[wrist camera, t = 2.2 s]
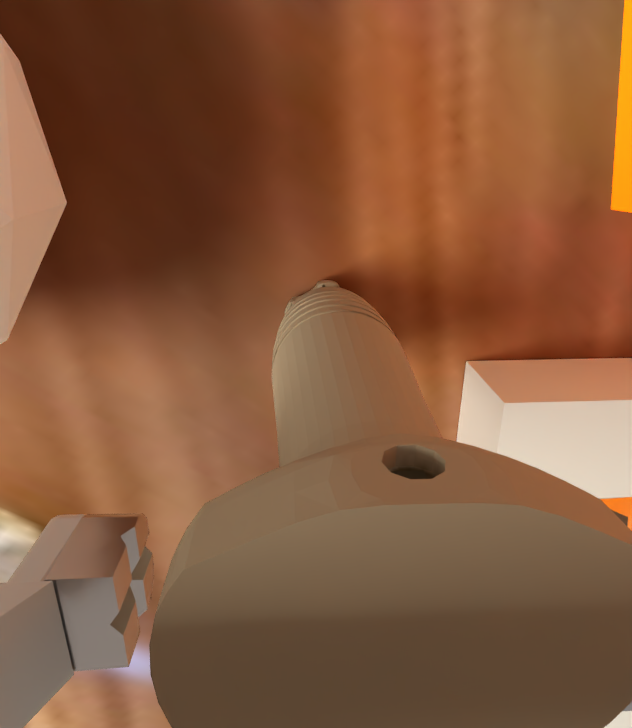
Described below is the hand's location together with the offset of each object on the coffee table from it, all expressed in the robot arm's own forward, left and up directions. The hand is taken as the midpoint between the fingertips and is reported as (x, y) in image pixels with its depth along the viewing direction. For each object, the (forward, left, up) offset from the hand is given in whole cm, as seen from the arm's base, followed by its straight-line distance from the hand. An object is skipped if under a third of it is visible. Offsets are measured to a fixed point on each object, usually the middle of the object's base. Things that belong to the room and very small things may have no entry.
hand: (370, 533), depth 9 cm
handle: (-1, 0, -12) cm, 12 cm away
